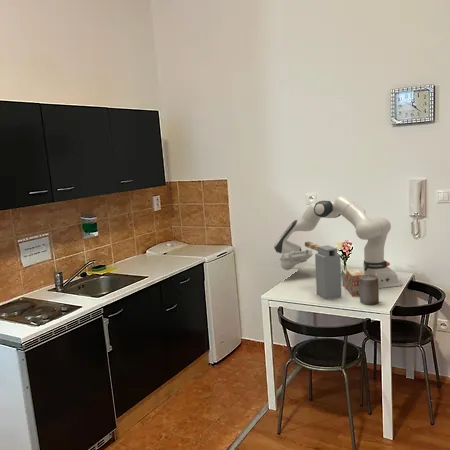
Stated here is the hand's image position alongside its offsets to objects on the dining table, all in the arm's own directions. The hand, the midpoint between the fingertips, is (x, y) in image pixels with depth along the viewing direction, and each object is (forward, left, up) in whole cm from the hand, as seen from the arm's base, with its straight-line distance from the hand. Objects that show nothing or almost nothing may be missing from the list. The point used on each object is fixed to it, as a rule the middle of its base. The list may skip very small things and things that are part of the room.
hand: (301, 251), depth 282 cm
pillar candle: (-30, +44, -19) cm, 57 cm away
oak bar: (-7, +18, +5) cm, 20 cm away
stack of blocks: (-26, +23, -19) cm, 40 cm away
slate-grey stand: (-11, +31, -19) cm, 38 cm away
